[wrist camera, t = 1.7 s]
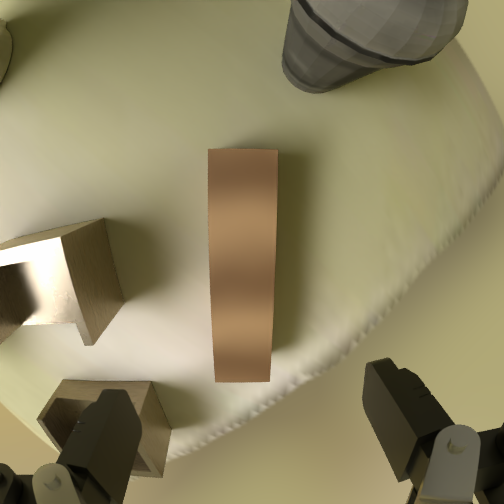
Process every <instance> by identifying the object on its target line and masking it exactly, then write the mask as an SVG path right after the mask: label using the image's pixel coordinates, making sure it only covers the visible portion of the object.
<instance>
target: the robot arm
mask: <svg viewBox="0 0 504 504" xmlns="http://www.w3.org/2000/svg"><path fill="white" fill-rule="evenodd" d="M6 23H7V22H6V21H4V20H2V19H0V83H1V81H2V79H3V77H4V75H5V73H6V70H7V67H8V65H9V62H10V57H11V53H12V37H11V35H10V33H9V32H8V31H7V29H6ZM362 400H363V407H364V410H365V413H366V415H367V417H368V419H369V421H370V423H371V425H372V427H373V429H374V431H375V434H376V436H377V438H378V440H379V442H380V444H381V446H382V448H383V450H384V452H385V454H386V457H387V458H388V461H389V463H390V465H391V467H392V469H393V471H394V474H395V476H396V478H397V480H398V482H401V481H404V480H407V479H409V478H410V480H411V482H412V484H413V486H412V488H411V491H410V493H409V496H408V499H407V501H406V504H473V502H472V499H473V493H474V494H475V496H476V498H477V500H478V502H479V504H504V423H503V425H502V426H501V427H500V428H496V429H492V430H487V431H483V432H476V431H475V430H474V429H472V428H471V427H468V426H465V425H455V424H454V422H453V421H452V420H451V418H450V417H449V416H448V414H447V413H446V412H445V410H444V409H443V408H442V406H441V405H440V404H439V402H438V401H437V400H436V399H435V397H434V396H433V395H431V392H430V391H429V389H428V388H427V387H425V384H424V383H423V382H422V381H421V379H420V378H419V377H418V375H416V374H415V373H413V372H411V371H410V370H408V369H406V368H403V369H398V368H397V367H396V365H395V364H394V363H393V361H392V360H391V359H390V358H384V359H380V360H376V361H372V362H368V363H367V364H366V368H365V377H364V387H363V396H362ZM141 436H142V424H141V421H140V418H139V416H138V414H137V412H136V410H135V408H134V406H133V403H132V401H131V399H130V397H129V395H128V393H127V391H126V390H124V389H103V390H102V392H101V394H100V396H99V397H98V399H97V401H96V402H92V403H91V404H90V405H89V406H88V407H87V408H86V409H84V410H83V411H82V413H81V415H80V417H79V419H78V421H77V424H76V425H75V426H74V428H73V432H71V434H70V436H69V438H68V440H67V442H66V444H65V446H64V448H63V450H62V452H61V454H60V456H59V458H58V460H57V462H56V463H49V464H46V465H43V466H41V467H40V468H39V469H38V470H37V471H36V472H35V473H34V475H16V474H15V473H14V471H13V470H12V469H11V468H10V467H9V466H8V465H6V464H3V463H0V504H123V500H124V496H125V492H126V489H127V485H128V481H129V478H130V474H131V471H132V467H133V464H134V460H135V457H136V453H137V450H138V446H139V443H140V440H141Z"/></svg>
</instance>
